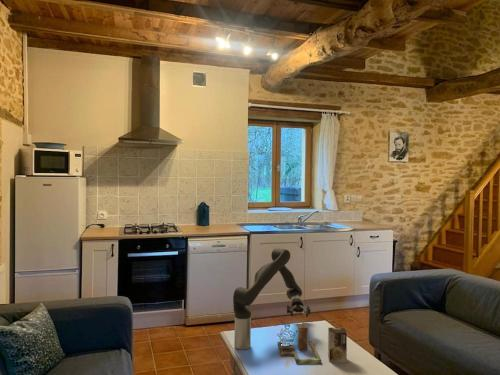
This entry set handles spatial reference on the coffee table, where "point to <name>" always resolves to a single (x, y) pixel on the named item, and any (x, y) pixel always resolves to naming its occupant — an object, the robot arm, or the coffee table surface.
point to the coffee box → (337, 345)
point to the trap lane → (288, 352)
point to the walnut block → (302, 337)
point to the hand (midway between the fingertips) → (299, 315)
